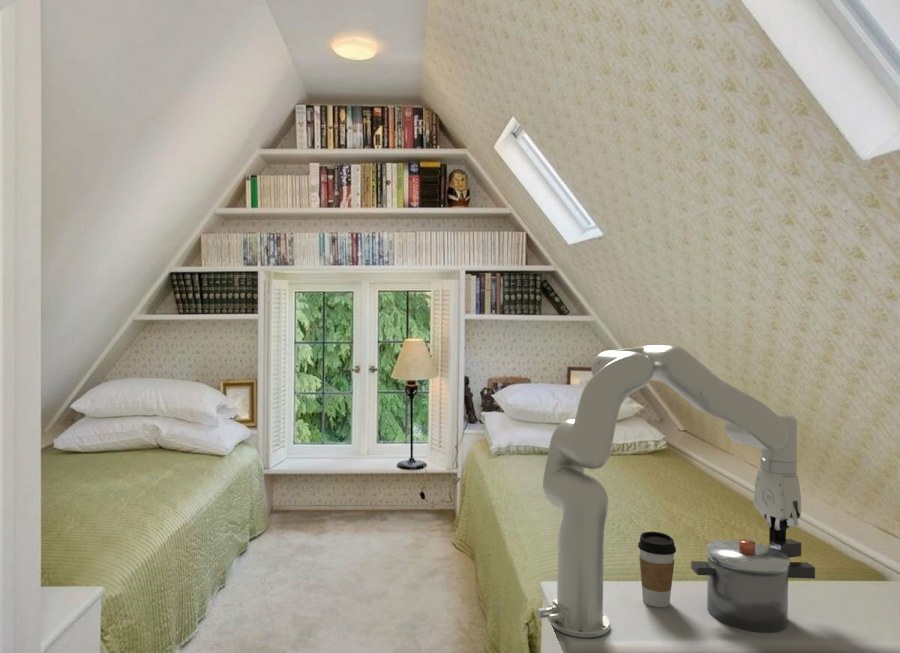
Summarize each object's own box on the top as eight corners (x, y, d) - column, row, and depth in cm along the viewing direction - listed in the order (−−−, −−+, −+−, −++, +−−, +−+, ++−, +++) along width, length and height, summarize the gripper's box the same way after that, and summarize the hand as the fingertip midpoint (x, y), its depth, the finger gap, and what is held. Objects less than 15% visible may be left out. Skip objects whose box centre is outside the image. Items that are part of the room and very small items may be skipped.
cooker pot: (707, 630, 125) (708, 572, 126) (681, 597, 141) (681, 546, 142) (832, 635, 124) (832, 577, 125) (791, 601, 140) (791, 549, 141)
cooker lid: (746, 578, 123) (746, 558, 123) (690, 550, 138) (690, 532, 139) (828, 567, 130) (828, 548, 130) (766, 542, 145) (766, 525, 145)
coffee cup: (669, 595, 143) (670, 532, 143) (680, 611, 134) (680, 544, 134) (633, 593, 143) (634, 530, 144) (641, 609, 135) (642, 542, 135)
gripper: (742, 460, 147) (741, 536, 147) (790, 474, 132) (789, 558, 132) (768, 460, 149) (767, 534, 148) (818, 473, 134) (817, 555, 134)
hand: (777, 545), depth 140 cm, fingers closed
